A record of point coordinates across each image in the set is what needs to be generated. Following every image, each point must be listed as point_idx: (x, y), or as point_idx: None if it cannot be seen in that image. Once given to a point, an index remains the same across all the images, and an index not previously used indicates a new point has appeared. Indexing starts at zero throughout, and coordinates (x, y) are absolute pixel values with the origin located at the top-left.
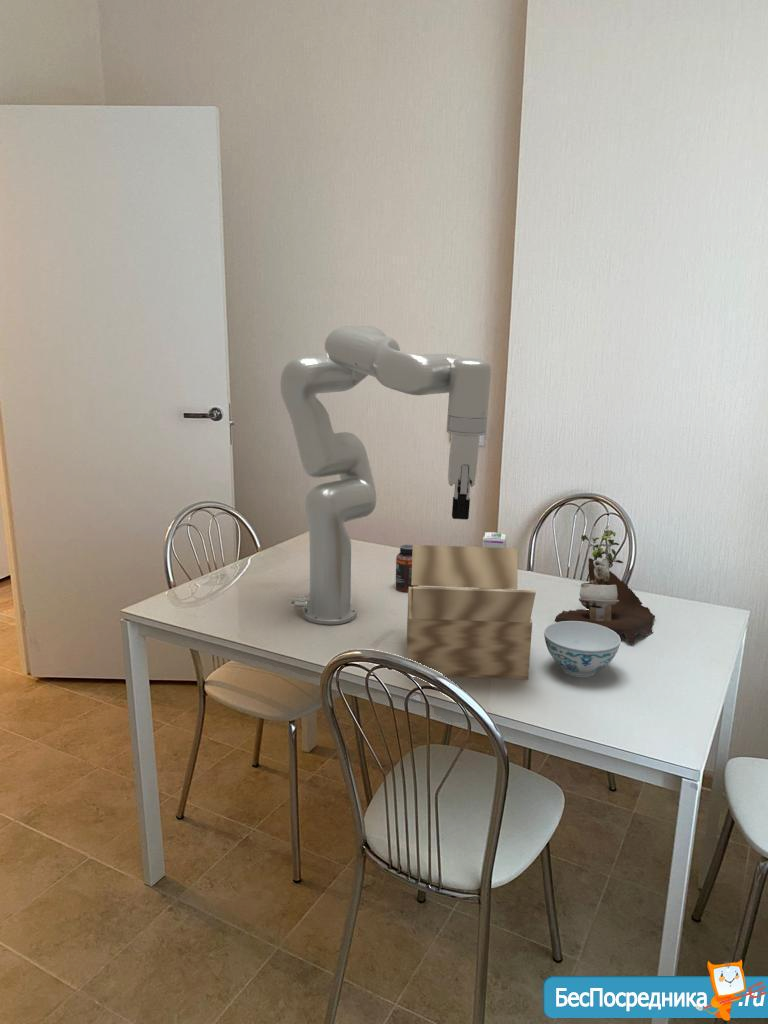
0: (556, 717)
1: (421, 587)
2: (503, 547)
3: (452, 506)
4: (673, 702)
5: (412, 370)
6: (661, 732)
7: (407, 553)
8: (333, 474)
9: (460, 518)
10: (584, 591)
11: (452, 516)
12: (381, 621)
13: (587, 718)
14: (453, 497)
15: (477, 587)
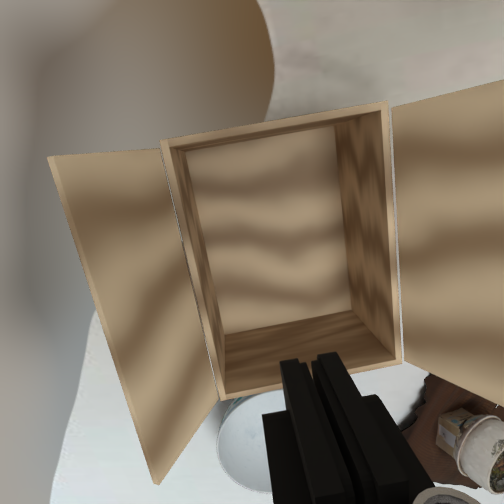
0: (112, 379)
1: (59, 185)
2: None
3: (356, 399)
4: (205, 499)
5: None
6: (119, 487)
7: None
8: None
9: (286, 407)
10: (485, 440)
11: (282, 367)
12: (414, 48)
13: (124, 414)
14: (382, 487)
15: (402, 277)
